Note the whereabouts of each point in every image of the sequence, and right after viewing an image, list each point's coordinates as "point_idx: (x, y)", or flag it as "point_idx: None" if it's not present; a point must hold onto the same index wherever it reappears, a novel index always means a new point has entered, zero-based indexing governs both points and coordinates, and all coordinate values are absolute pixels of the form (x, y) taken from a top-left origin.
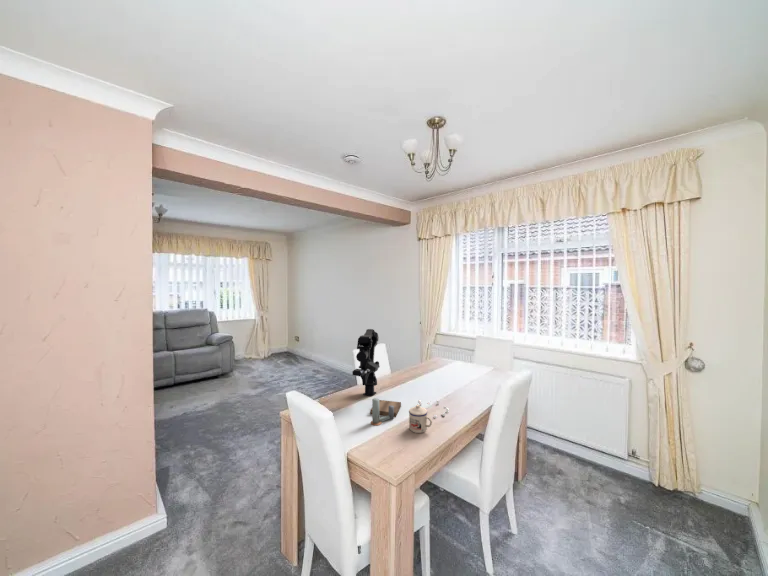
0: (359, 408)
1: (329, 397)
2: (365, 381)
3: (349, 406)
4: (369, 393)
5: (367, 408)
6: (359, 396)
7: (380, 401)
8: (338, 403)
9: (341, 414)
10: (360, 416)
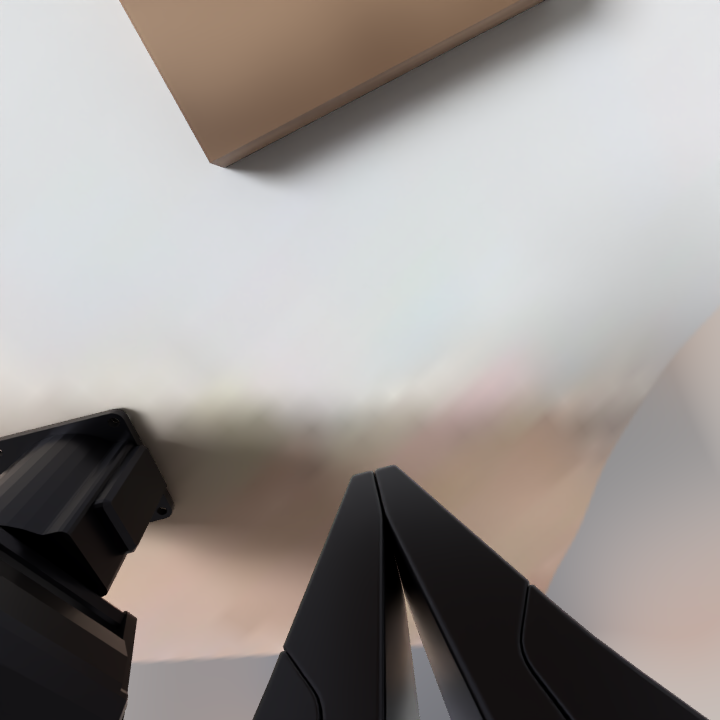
0: (482, 268)
1: None
2: (440, 505)
3: (500, 389)
4: (121, 453)
5: (426, 185)
6: (238, 499)
7: (224, 61)
8: (502, 508)
9: (691, 309)
10: (658, 85)
